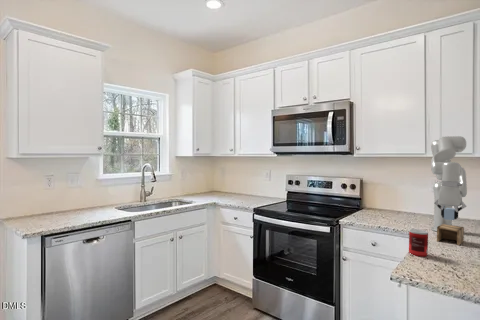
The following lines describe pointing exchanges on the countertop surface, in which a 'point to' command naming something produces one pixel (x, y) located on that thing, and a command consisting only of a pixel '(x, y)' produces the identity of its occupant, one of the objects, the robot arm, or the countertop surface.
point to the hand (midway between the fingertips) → (449, 217)
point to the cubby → (450, 233)
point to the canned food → (418, 242)
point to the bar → (449, 213)
